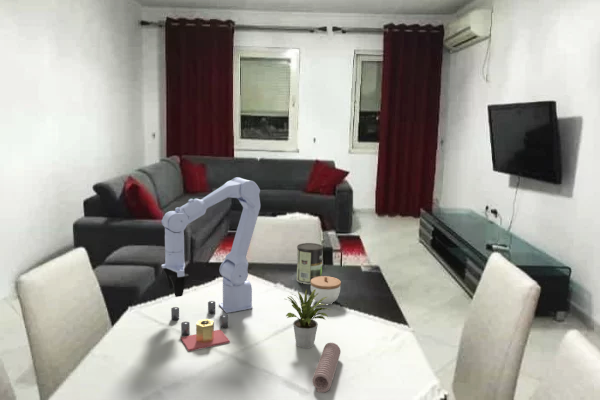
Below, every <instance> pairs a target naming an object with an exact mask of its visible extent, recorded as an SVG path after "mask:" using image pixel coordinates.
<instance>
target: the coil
mask: <svg viewBox="0 0 600 400" xmlns="http://www.w3.org/2000/svg"><path fill="white" fill-rule="evenodd" d="M341 353H342V352H341V348H340V346H339V345H338V344H336V343H335V342H328V343H325V345H324V346H323V350H322V352H321V355H320V357H319V360H318V363H317V365H316V368H315V371H314V373H313V376H312V379H311V382H312V385H313V386H314V388H315V389H316V392H317V393H327V392H328V391H329V390H330V389H331V386H332V383H333V380H334V377H335V372H336V369H337V366H338V362H339V359H340V356H341Z"/></svg>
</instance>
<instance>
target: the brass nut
mask: <svg viewBox="0 0 600 400" xmlns="http://www.w3.org/2000/svg"><path fill="white" fill-rule="evenodd" d="M195 327H196V328H195V333H196V341H198V342H201V343H206V342H211V341H212V340H213V338H214V331H215V322H214V320H212V319H209V318H205V319H198V321H196V325H195Z"/></svg>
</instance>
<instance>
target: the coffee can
mask: <svg viewBox="0 0 600 400" xmlns="http://www.w3.org/2000/svg"><path fill="white" fill-rule="evenodd" d="M296 248H297V252H296V256H297V257H296V281H297V283H300V284H302V283H303V285H311V279H312V278H315V277H319V276H323V252H324V251H323V250H324V246H323V245H321V244H319V243H314V242H305V243H299V244H297V246H296Z"/></svg>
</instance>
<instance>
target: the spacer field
mask: <svg viewBox="0 0 600 400" xmlns="http://www.w3.org/2000/svg"><path fill="white" fill-rule="evenodd" d="M170 312H171V313H170V314H171V317H170V318H171V320H172V321H179V320H180V307H177V306H173V307H171V308H170ZM207 314H209V315H211V314H212V315H213V314H216V301H215V300H209V301H208V302H207ZM180 326H181V328H180V329H181V330H180V333H181V337H185V336H190V334H191V332H190V322H189V321H183V322H181V323H180ZM219 328H220V329H227V328H229V315H228V314H220V316H219Z"/></svg>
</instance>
